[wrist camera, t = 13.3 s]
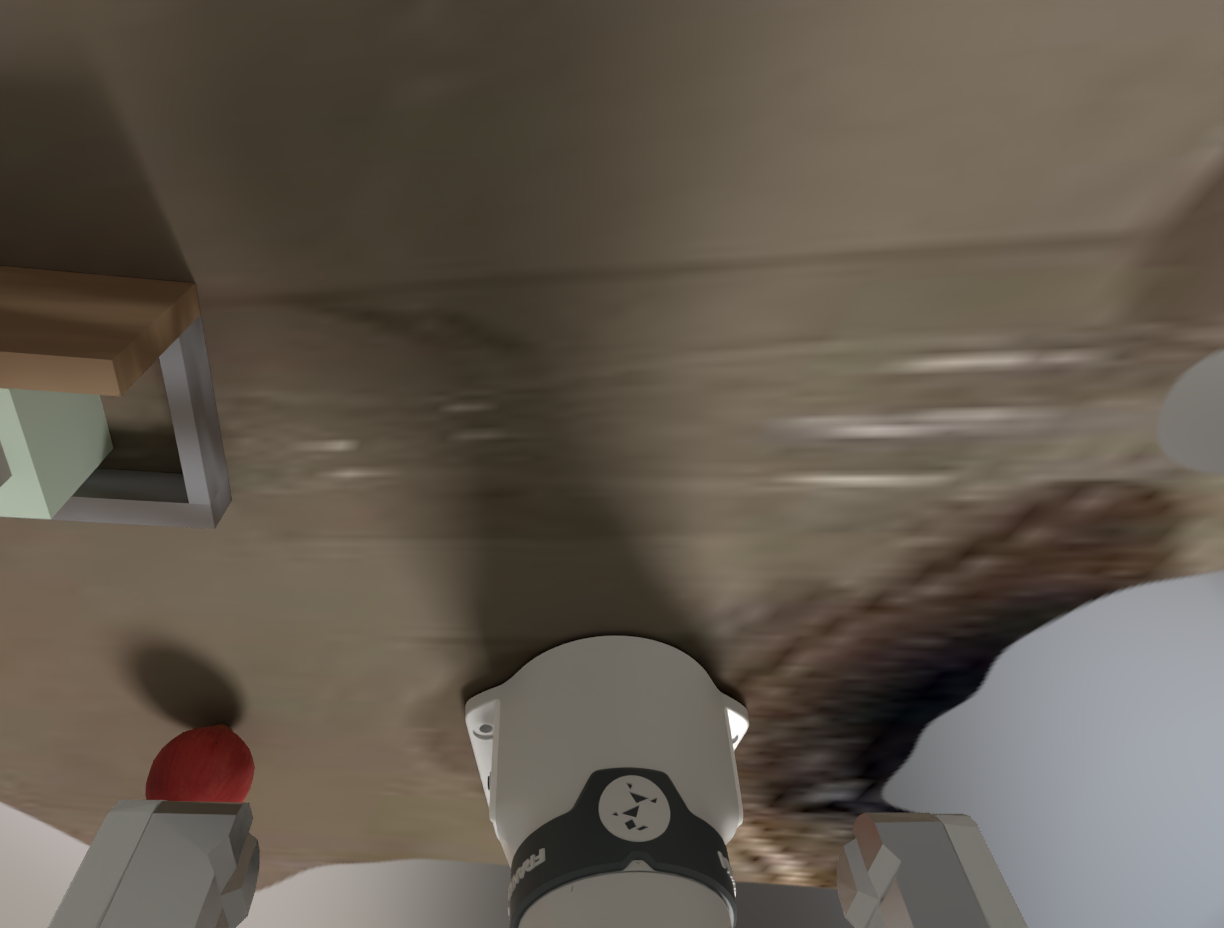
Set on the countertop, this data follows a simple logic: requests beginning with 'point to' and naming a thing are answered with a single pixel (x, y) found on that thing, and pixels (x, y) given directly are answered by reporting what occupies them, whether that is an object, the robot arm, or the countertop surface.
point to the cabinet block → (47, 448)
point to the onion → (202, 767)
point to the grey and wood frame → (120, 382)
